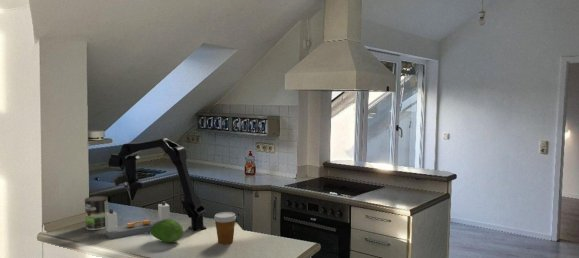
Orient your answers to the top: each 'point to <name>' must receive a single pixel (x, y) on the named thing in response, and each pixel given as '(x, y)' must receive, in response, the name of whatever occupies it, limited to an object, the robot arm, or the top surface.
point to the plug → (163, 211)
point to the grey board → (131, 230)
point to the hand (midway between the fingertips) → (131, 199)
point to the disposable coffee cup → (225, 227)
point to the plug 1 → (111, 221)
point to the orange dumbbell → (138, 222)
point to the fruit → (167, 231)
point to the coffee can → (96, 212)
